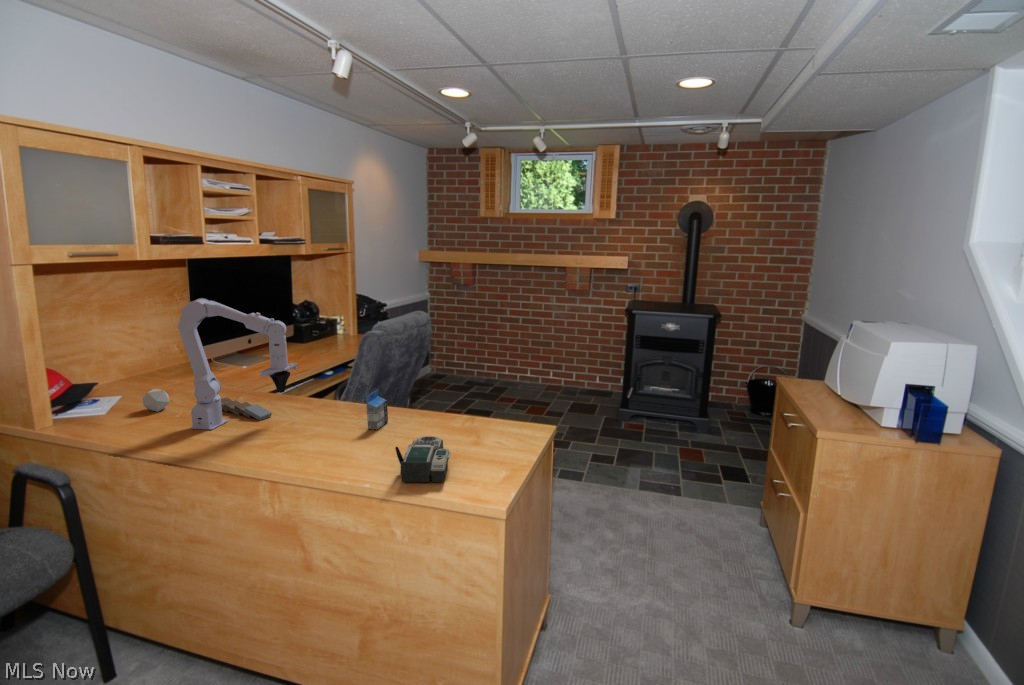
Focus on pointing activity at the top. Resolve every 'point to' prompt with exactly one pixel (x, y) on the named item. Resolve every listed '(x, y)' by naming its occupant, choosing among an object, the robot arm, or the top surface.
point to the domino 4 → (257, 412)
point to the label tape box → (376, 411)
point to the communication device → (424, 460)
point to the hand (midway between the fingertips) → (281, 391)
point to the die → (156, 400)
